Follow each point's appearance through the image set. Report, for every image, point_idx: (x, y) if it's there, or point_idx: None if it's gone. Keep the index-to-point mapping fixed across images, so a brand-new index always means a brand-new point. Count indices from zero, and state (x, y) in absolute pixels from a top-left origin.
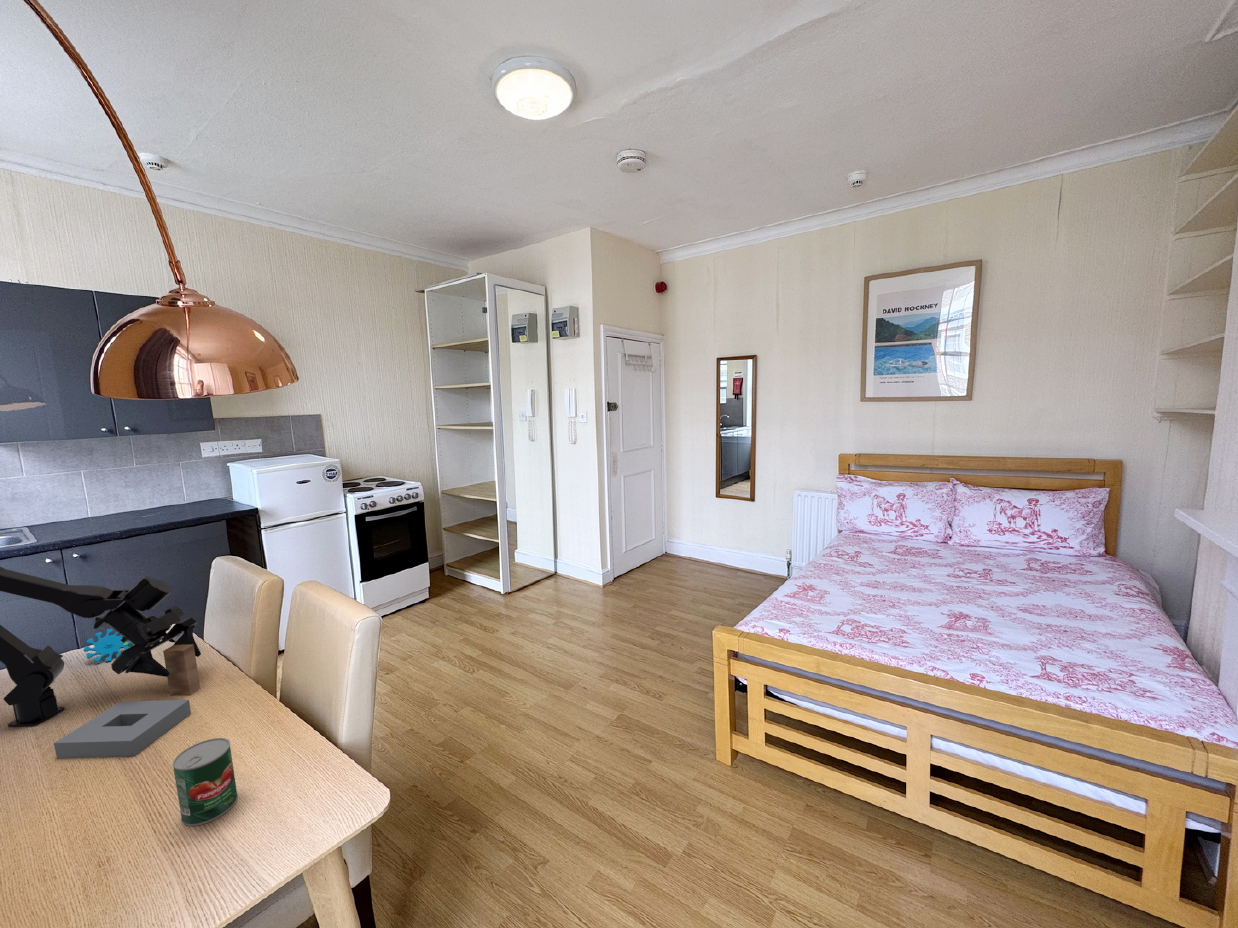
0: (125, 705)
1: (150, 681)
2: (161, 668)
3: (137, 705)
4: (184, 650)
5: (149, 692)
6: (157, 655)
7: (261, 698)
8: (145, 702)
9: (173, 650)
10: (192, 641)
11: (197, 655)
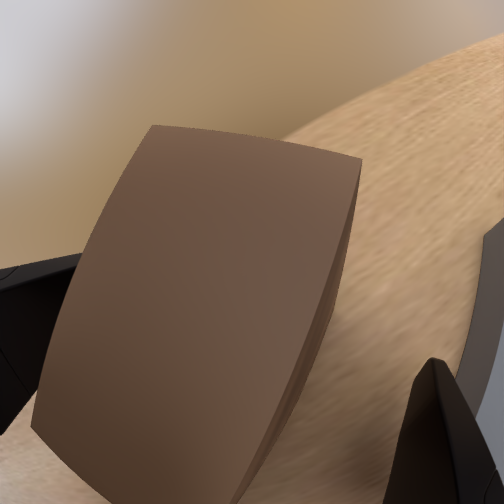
0: None
1: None
2: (467, 421)
3: (493, 442)
4: (336, 164)
5: None
6: (3, 465)
7: (418, 73)
8: (484, 422)
9: (268, 390)
10: (7, 279)
11: None
